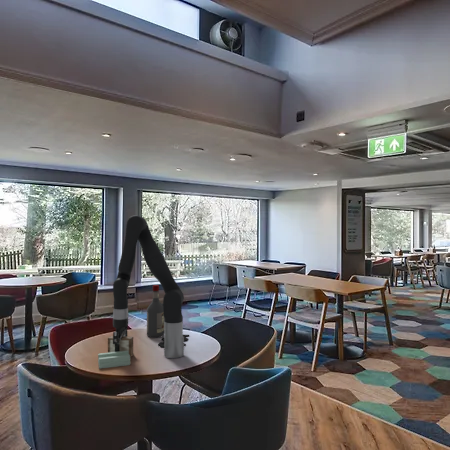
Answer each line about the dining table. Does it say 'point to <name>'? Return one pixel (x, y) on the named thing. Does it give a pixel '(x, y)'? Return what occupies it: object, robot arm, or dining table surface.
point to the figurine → (163, 340)
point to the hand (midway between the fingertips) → (120, 349)
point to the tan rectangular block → (121, 345)
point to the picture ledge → (113, 359)
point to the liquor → (155, 316)
